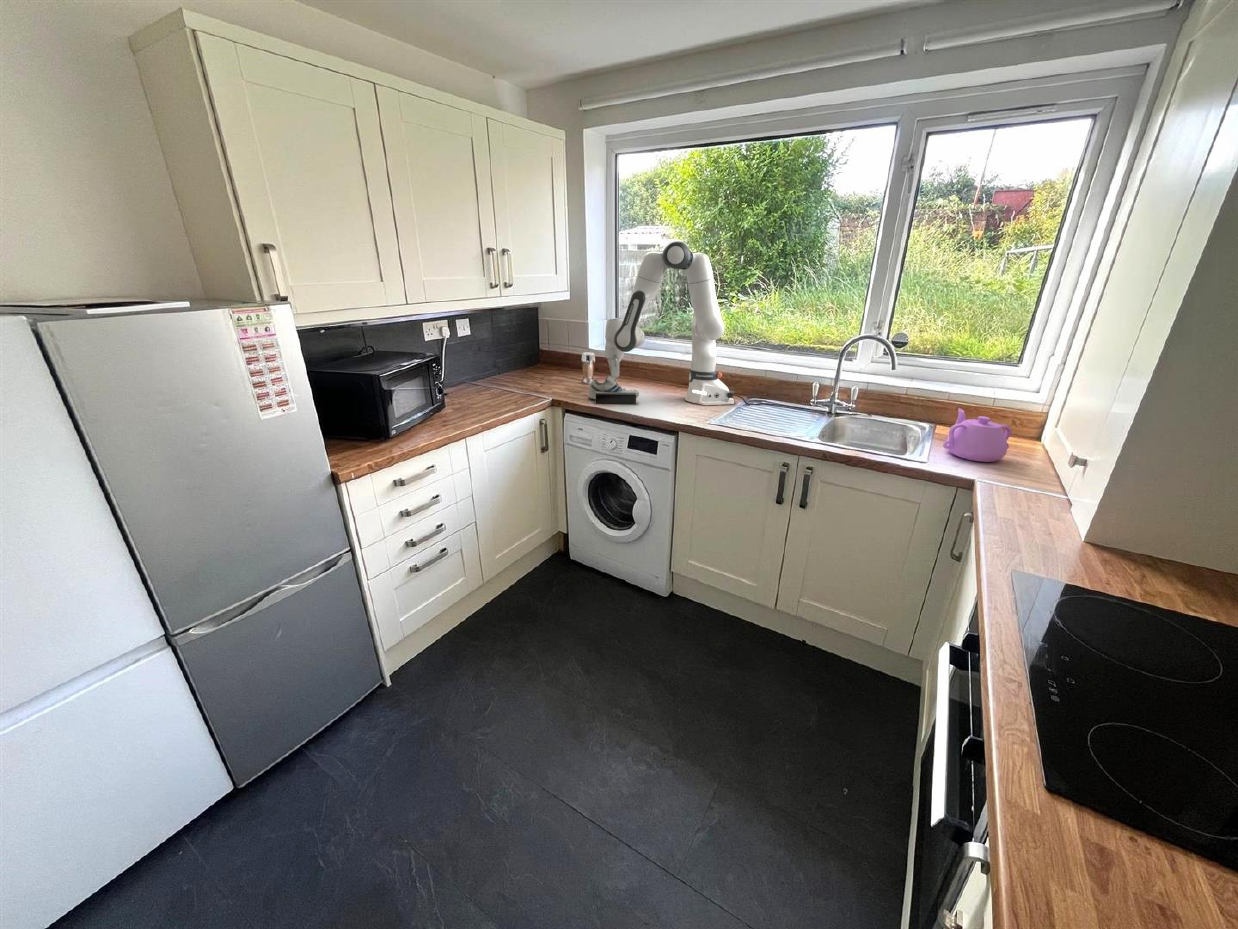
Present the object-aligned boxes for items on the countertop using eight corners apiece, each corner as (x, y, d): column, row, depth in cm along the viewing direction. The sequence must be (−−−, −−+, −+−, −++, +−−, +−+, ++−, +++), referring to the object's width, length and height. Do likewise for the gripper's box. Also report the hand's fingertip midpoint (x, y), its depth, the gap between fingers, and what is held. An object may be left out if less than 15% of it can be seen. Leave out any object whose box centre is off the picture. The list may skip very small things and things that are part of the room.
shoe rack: (635, 403, 223) (636, 392, 221) (635, 404, 222) (636, 392, 220) (595, 402, 222) (595, 391, 220) (595, 403, 221) (595, 392, 219)
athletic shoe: (638, 403, 222) (639, 375, 221) (587, 402, 223) (587, 375, 221) (638, 402, 232) (638, 376, 231) (589, 402, 233) (589, 376, 231)
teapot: (977, 444, 183) (988, 407, 178) (1023, 465, 163) (1037, 425, 158) (918, 442, 182) (928, 406, 177) (957, 464, 162) (969, 423, 157)
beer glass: (597, 382, 263) (597, 353, 257) (591, 384, 257) (591, 355, 251) (585, 380, 265) (585, 352, 260) (579, 382, 259) (579, 353, 254)
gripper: (622, 357, 223) (622, 387, 228) (619, 350, 242) (618, 378, 247) (608, 357, 223) (608, 387, 228) (606, 350, 242) (606, 378, 247)
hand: (613, 382), depth 238 cm, fingers closed
